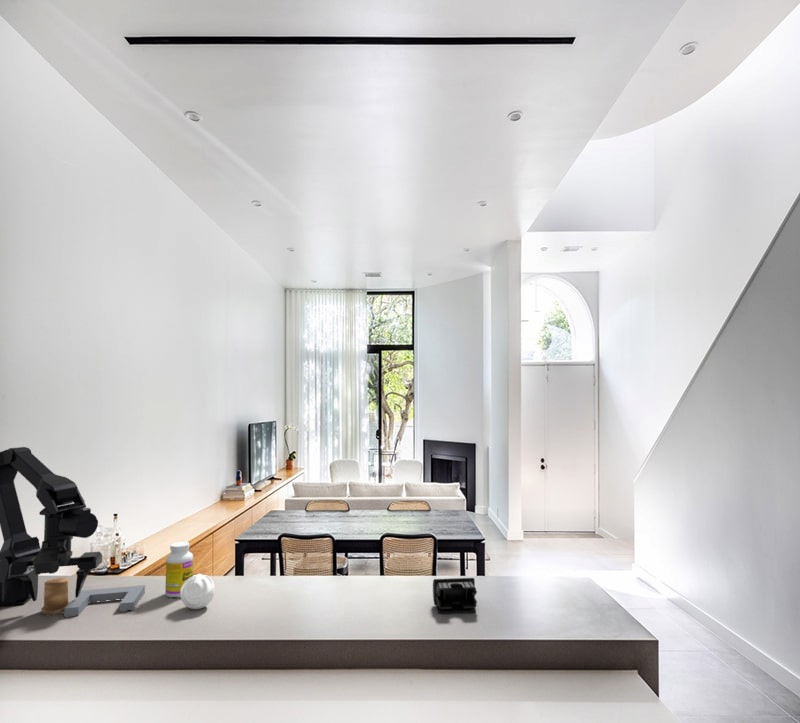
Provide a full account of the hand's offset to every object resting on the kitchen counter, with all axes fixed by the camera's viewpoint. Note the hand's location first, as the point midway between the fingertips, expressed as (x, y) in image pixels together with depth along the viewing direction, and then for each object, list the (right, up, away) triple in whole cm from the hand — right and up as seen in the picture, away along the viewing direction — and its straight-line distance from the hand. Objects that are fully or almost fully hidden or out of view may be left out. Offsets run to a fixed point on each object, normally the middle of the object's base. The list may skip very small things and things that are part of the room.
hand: (56, 598), depth 131 cm
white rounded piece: (+34, -3, +1) cm, 34 cm away
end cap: (+97, -2, -1) cm, 97 cm away
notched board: (+11, -3, +3) cm, 11 cm away
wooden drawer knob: (0, -3, 0) cm, 3 cm away
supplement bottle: (+26, -3, +10) cm, 28 cm away
